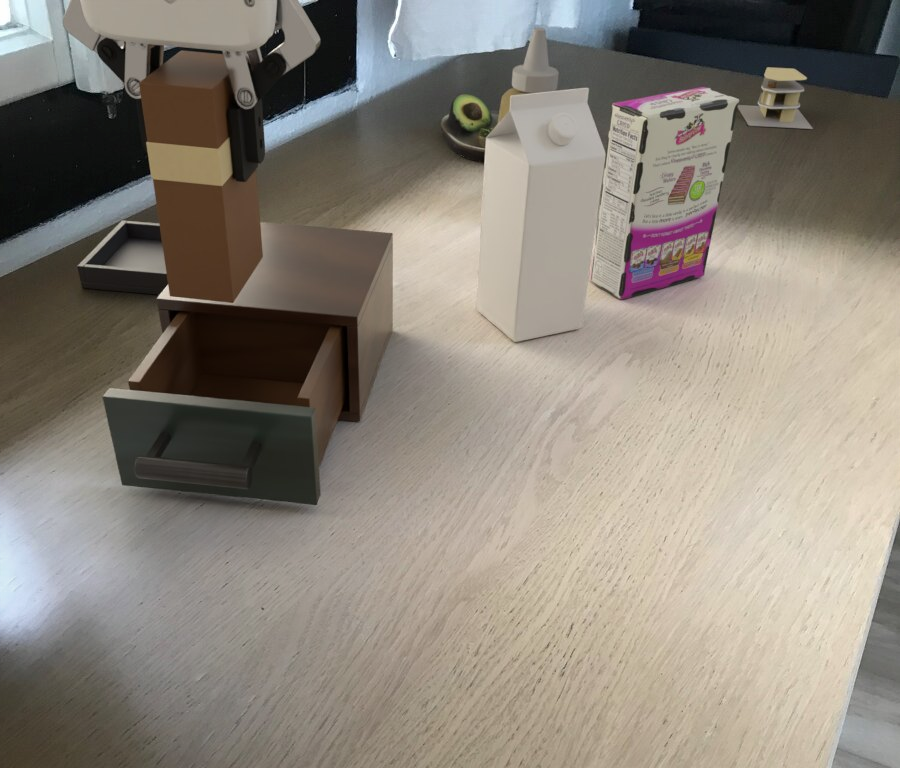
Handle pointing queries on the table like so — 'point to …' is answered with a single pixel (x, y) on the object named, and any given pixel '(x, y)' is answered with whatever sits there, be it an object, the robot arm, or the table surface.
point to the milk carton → (539, 214)
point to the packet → (199, 179)
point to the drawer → (232, 407)
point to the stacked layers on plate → (778, 101)
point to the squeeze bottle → (531, 72)
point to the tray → (127, 260)
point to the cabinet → (318, 294)
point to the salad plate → (468, 126)
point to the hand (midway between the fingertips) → (206, 166)
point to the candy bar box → (661, 189)
